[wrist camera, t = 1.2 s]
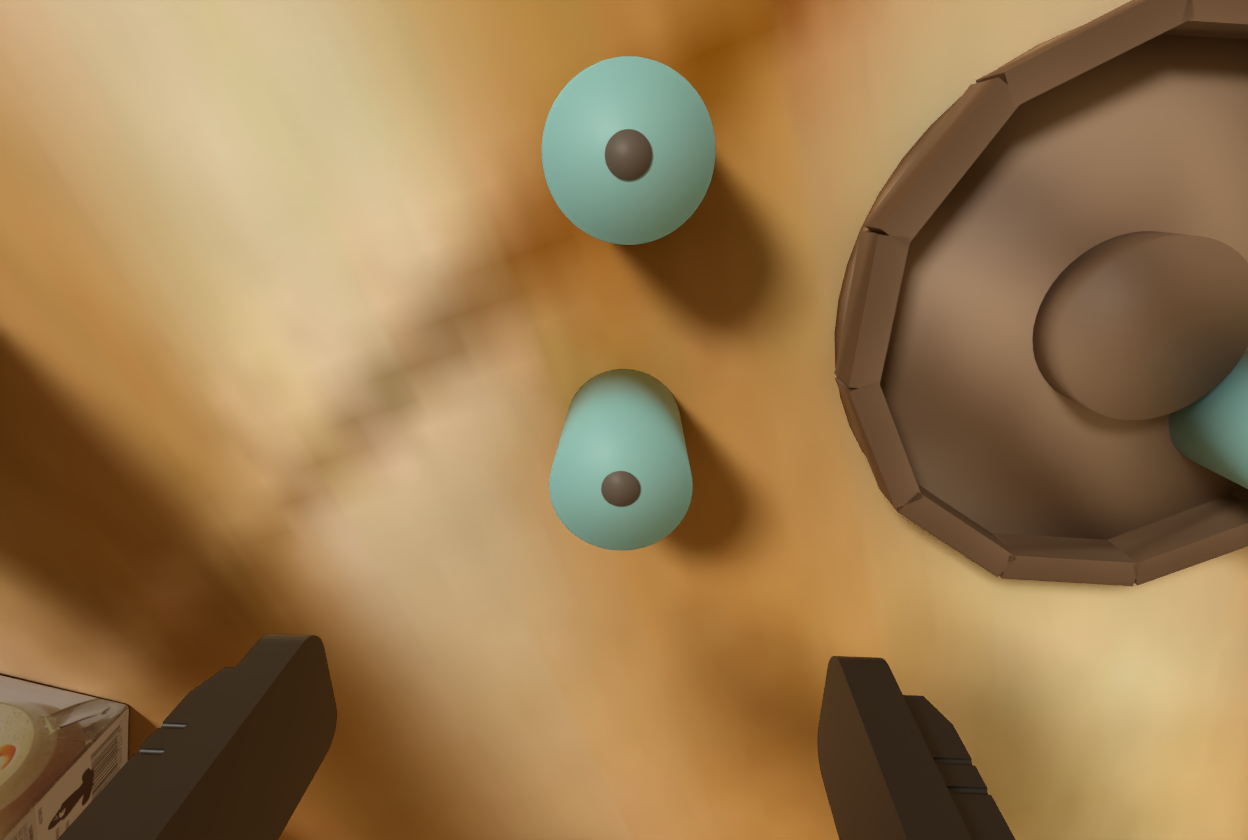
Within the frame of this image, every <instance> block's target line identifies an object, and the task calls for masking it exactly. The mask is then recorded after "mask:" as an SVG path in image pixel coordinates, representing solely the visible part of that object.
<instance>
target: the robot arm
mask: <svg viewBox="0 0 1248 840" xmlns="http://www.w3.org/2000/svg"><path fill="white" fill-rule="evenodd" d="M336 720H337V710H336V703H335V699H334V694H333V689H332V684H331V679H330V674H329V669H328V664H327V659H326V654H325V649H324V645H323V642H322V640H321V639H320V638H319V637H318V636H315V635H290V634H267V635H265V636H263V637H262V638H261V639H260V640H259V641H258V642H257V643H256V644H255V645H254V646H253V647H252V649H251V650H250V651H249V652H248V653H247V654H246V656H245V657H244V658H243V659H242V660H241V662H240V663H239V664H238V665H237V666H236V667H225V668H224V669H222V670H221V671H219V672H218V673H217V674H215V675H214V676H212V677H211V678H209V679H208V680H206V681H205V682H204V683H202V684H201V685H199V686H198V687H196V688H195V689H193V690H192V691H191V692H189V694H188V695H187V696H186V697H185V698H184V699H183V700H182V701H181V702H180V704H179V705H178V706H177V707H176V708H175V709H174V710H173V711H172V712H171V714H170V715H169V716H168V717H167V718H166V719H165V720H164V721H163V725H162V727H161V728H157V729H156V730H155V731H154V732H153V734H152V735H151V736H150V737H149V738H148V739H147V740H146V741H145V742H144V744H143V745H142V746H141V747H140V751H139V753H138V754H137V755H136V754H134V755H133V756H132V757H131V758H130V759H129V760H128V761H127V762H126V764H125V765H124V766H123V767H122V768H121V769H120V770H119V771H118V772H117V774H116V775H115V776H114V777H113V778H112V779H111V780H110V781H109V782H108V784H107V785H106V786H105V787H104V788H103V789H102V790H101V791H100V793H99V794H98V795H97V796H96V797H95V798H94V799H93V800H92V801H91V803H90V804H89V805H88V806H87V807H86V808H85V809H84V810H83V811H82V813H81V814H80V815H79V816H78V817H77V818H76V819H75V820H74V821H73V823H72V824H71V825H70V826H69V827H68V828H67V829H66V830H65V831H64V833H63V834H62V835H61V836H60V837H59V838H58V839H57V840H278V839H279V837H280V835H281V833H282V832H283V830H284V828H285V826H286V825H287V823H288V821H289V819H290V817H291V816H292V814H293V812H294V810H295V809H296V807H297V805H298V803H299V802H300V800H301V798H302V796H303V795H304V793H305V791H306V789H307V787H308V786H309V784H310V782H311V780H312V779H313V777H314V775H315V773H316V772H317V770H318V768H319V766H320V765H321V763H322V761H323V759H324V757H325V756H326V754H327V752H328V750H329V748H330V745H331V743H332V740H333V736H334V733H335V728H336ZM818 757H819V764H820V770H821V775H822V779H823V782H824V786H825V789H826V793H827V797H828V800H829V804H830V807H831V811H832V814H833V818H834V822H835V825H836V829H837V832H838V836H839V839H840V840H1015V838H1014V836H1013V834H1012V833H1011V831H1010V829H1009V827H1008V825H1007V823H1006V822H1005V820H1004V818H1003V816H1002V814H1001V812H1000V811H999V809H998V807H997V805H996V803H995V801H994V800H993V798H992V796H991V795H988V793H987V787H986V785H985V783H984V781H983V779H982V778H981V776H980V774H979V772H978V770H977V768H976V766H973V765H972V763H971V757H970V755H969V754H968V752H967V750H966V748H965V746H964V744H963V743H962V741H961V739H960V737H959V735H958V733H957V732H956V730H955V728H954V726H953V725H952V724H951V723H950V722H949V721H948V720H947V719H946V718H945V717H944V716H943V715H942V714H941V713H940V712H939V711H938V710H937V709H936V708H935V707H934V706H933V705H932V704H931V703H930V702H929V701H928V700H927V699H926V698H925V697H924V696H909V695H903V694H902V692H901V690H900V688H899V686H898V684H897V682H896V680H895V678H894V676H893V674H892V672H891V669H890V667H889V666H888V664H887V662H886V661H885V660H884V659H882V658H870V657H843V656H833V657H831V659H830V661H829V664H828V669H827V676H826V682H825V688H824V695H823V701H822V708H821V714H820V720H819V727H818Z"/></svg>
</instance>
